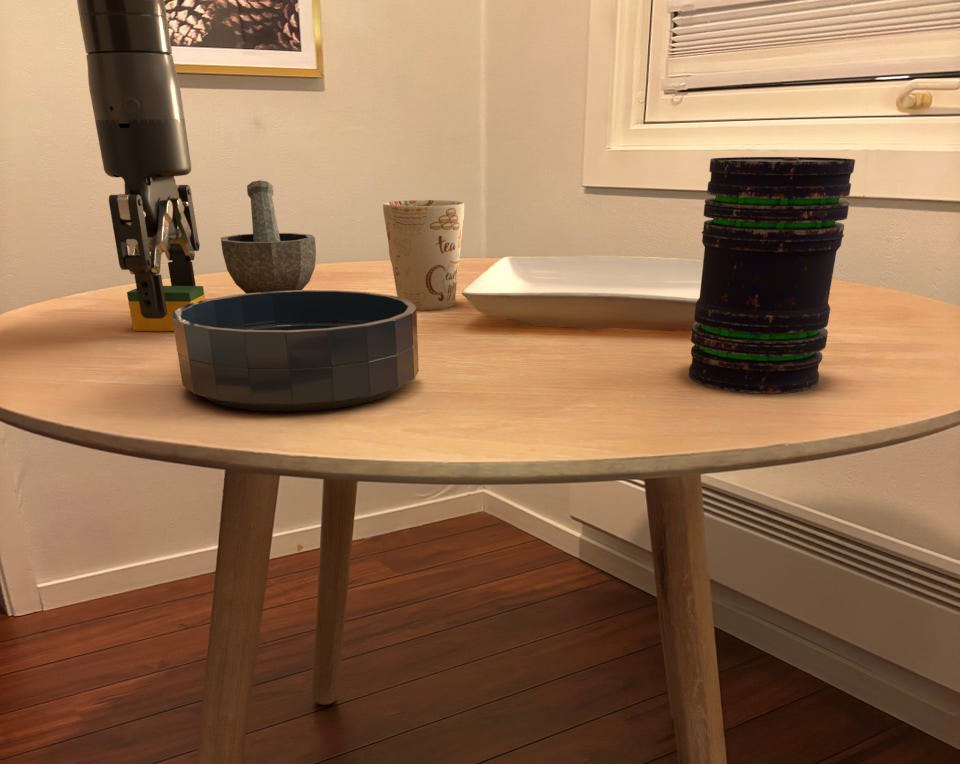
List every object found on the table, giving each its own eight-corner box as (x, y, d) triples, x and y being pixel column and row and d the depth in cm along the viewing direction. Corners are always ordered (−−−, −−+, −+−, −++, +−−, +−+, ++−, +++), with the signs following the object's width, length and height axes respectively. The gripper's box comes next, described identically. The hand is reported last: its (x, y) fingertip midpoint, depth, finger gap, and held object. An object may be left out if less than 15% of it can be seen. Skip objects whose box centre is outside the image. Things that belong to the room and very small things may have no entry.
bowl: (148, 414, 64) (134, 330, 61) (225, 358, 79) (216, 289, 76) (401, 418, 63) (397, 333, 60) (429, 360, 78) (427, 290, 75)
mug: (412, 314, 96) (408, 207, 92) (356, 298, 106) (350, 200, 101) (480, 306, 100) (480, 203, 96) (420, 291, 110) (417, 196, 105)
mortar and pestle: (324, 312, 98) (313, 184, 92) (231, 317, 95) (214, 186, 90) (312, 296, 107) (302, 178, 101) (228, 300, 105) (213, 180, 99)
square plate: (459, 331, 89) (458, 288, 87) (504, 287, 112) (504, 252, 110) (756, 341, 84) (762, 295, 82) (738, 292, 108) (742, 256, 106)
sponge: (133, 330, 90) (126, 292, 88) (148, 323, 93) (142, 285, 91) (195, 331, 89) (189, 292, 88) (208, 323, 93) (203, 285, 91)
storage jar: (803, 400, 66) (841, 162, 59) (669, 384, 71) (690, 160, 64) (831, 371, 74) (868, 157, 67) (709, 358, 78) (731, 156, 71)
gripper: (129, 116, 89) (159, 297, 97) (60, 116, 77) (102, 323, 84) (207, 115, 89) (231, 297, 96) (151, 114, 76) (184, 324, 84)
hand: (171, 309), depth 90 cm, fingers open, 8 cm apart
